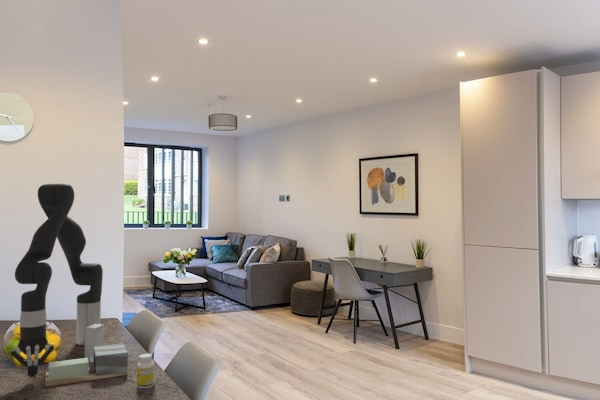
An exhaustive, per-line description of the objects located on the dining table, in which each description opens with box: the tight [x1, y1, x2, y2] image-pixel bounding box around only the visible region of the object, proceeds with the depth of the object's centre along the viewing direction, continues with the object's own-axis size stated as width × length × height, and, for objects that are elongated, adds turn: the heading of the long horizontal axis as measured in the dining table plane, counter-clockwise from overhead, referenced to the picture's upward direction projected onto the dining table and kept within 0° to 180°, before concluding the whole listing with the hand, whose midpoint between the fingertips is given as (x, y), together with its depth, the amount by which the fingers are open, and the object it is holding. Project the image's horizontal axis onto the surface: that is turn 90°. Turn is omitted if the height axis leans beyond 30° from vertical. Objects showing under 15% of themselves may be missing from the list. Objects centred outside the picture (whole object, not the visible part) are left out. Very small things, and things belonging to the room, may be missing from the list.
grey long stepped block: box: [44, 342, 129, 388], centre depth 163 cm, size 12×25×8 cm, turn 117°
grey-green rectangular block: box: [47, 357, 94, 380], centre depth 161 cm, size 6×14×4 cm, turn 117°
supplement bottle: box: [136, 353, 156, 389], centre depth 154 cm, size 5×5×10 cm
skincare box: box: [84, 323, 105, 361], centre depth 182 cm, size 6×4×12 cm
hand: (32, 376), depth 156 cm, fingers closed
